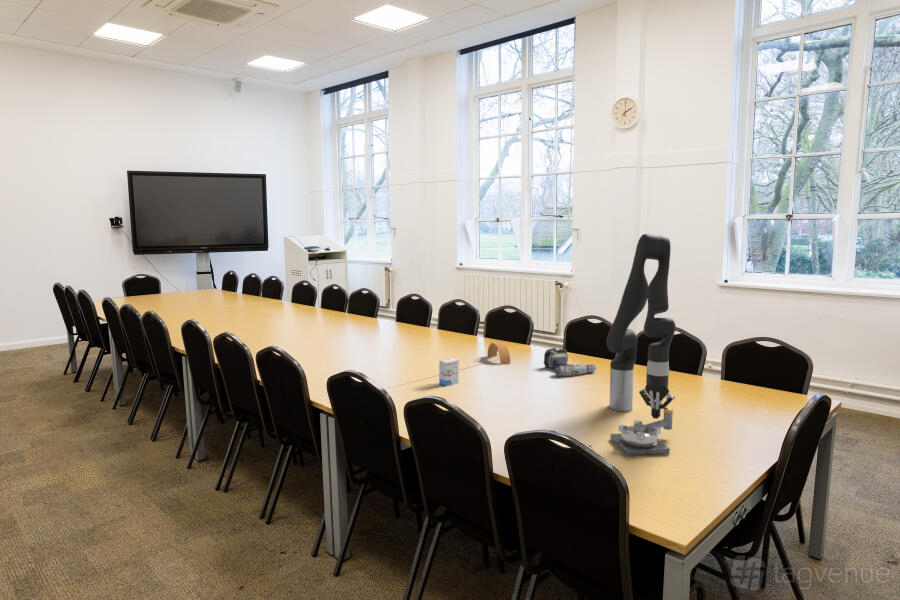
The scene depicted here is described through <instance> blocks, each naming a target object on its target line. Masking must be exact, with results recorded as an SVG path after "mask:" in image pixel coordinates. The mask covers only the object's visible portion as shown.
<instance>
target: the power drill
mask: <svg viewBox="0 0 900 600" xmlns="http://www.w3.org/2000/svg"><path fill="white" fill-rule="evenodd" d="M568 360H569V356H568V350H567V349H564V348H560V349H556V348H555V347H553V348H549V349H548V348H547V350H545V352H544V356H543V364H544V367H545V368H551V369H554V374H555V375H556V376H557V377H558V378H560V377H574V376H579V375H580V376H581V375H585V374H587V373H589V374H590V373H594V372H596V371H597V366H596V365H595V364H584V363H583V364H574V363H568Z"/></svg>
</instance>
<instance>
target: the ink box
mask: <svg viewBox="0 0 900 600" xmlns="http://www.w3.org/2000/svg"><path fill="white" fill-rule="evenodd" d="M438 363H439V365H438V367H439V368H438V369H439V371H438V372H439V376H438V378H439V385H441V386H445V387H448V386H452V385H455V384H459V374H460V373H459V369H460V367H459V359H457V358H454V357H449V358H445V359H441V360H439V361H438Z"/></svg>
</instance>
